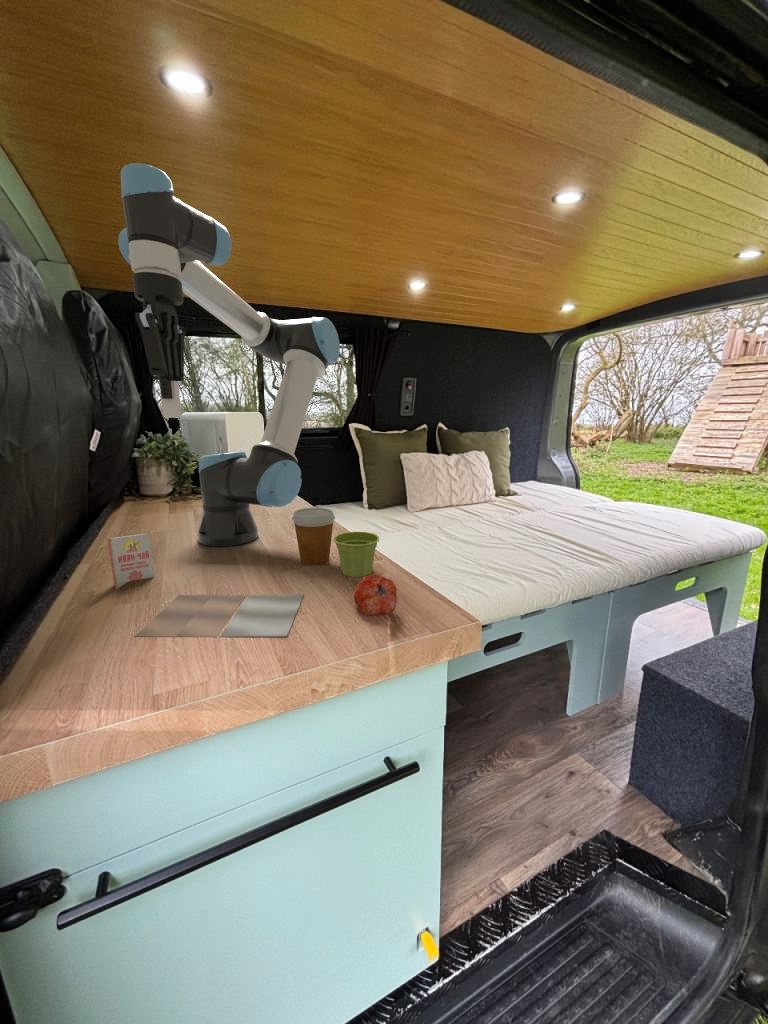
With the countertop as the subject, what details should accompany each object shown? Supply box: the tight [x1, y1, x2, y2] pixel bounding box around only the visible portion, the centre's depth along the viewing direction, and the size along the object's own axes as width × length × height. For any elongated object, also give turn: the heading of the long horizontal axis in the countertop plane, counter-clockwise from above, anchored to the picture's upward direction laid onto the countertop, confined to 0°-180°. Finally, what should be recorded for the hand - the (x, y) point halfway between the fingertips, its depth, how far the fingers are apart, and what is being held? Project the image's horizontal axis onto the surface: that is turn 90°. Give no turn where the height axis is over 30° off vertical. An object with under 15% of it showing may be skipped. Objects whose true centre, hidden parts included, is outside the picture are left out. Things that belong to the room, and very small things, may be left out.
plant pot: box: [333, 531, 380, 578], centre depth 85 cm, size 9×9×9 cm
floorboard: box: [134, 594, 247, 638], centre depth 67 cm, size 14×12×1 cm
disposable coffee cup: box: [291, 507, 336, 566], centre depth 92 cm, size 10×10×12 cm
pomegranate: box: [353, 573, 398, 616], centre depth 70 cm, size 7×7×10 cm
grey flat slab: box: [219, 593, 305, 638], centre depth 67 cm, size 14×10×1 cm
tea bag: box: [107, 533, 155, 591], centre depth 80 cm, size 4×7×10 cm, turn 122°
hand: (172, 417), depth 75 cm, fingers closed
